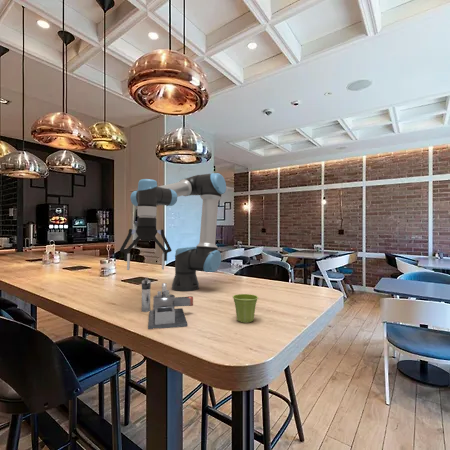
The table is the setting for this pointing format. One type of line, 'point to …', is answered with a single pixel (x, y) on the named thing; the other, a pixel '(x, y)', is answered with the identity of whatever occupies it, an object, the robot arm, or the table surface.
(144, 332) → the table surface
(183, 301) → the grey machine part
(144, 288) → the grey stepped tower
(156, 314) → the base
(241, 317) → the plant pot
